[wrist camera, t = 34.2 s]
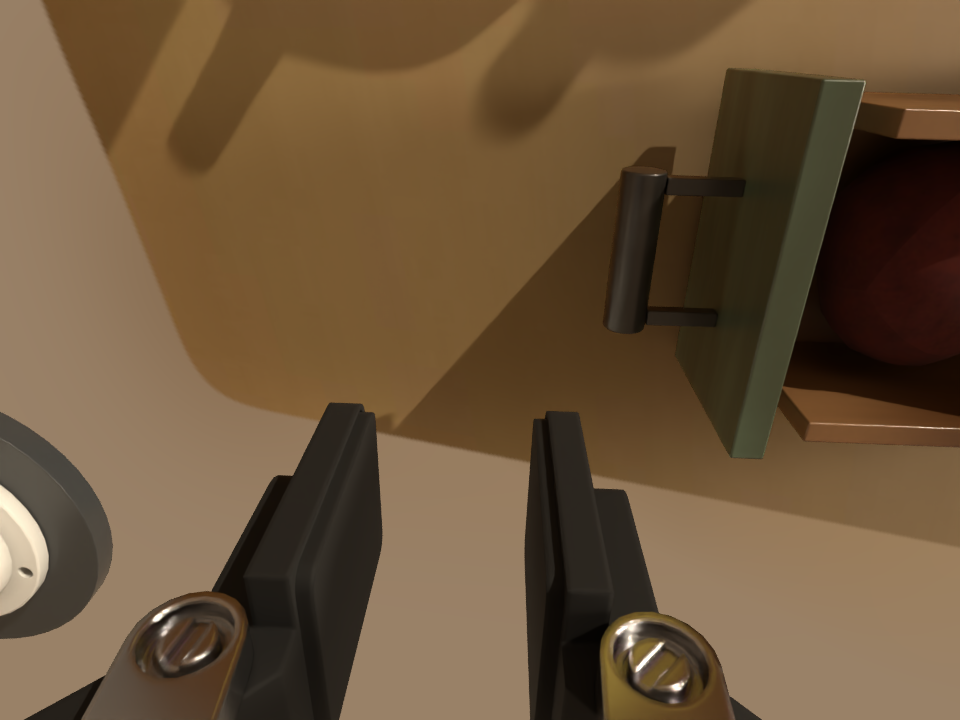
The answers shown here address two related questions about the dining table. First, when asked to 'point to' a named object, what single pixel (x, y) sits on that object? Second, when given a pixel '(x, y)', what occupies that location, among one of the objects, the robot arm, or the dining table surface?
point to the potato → (896, 258)
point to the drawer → (782, 265)
